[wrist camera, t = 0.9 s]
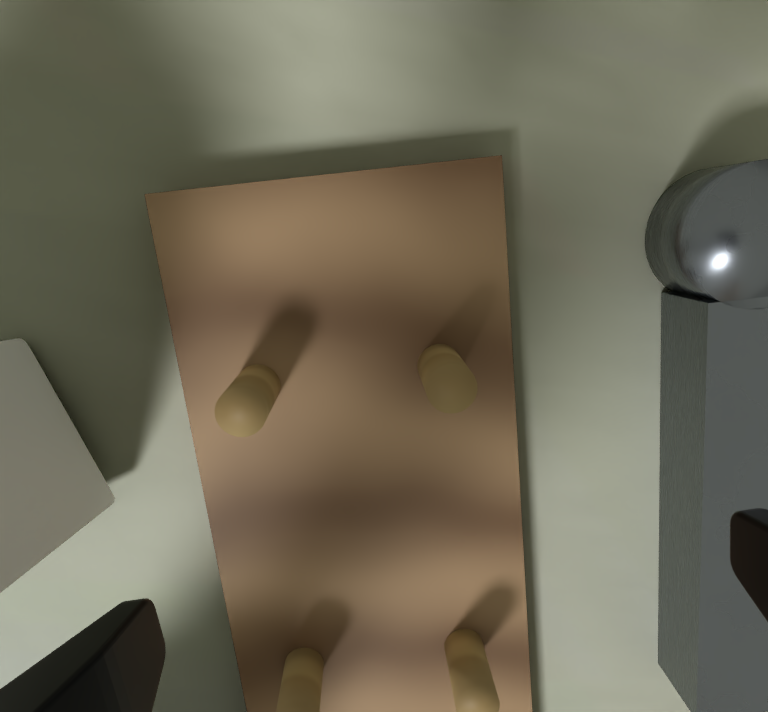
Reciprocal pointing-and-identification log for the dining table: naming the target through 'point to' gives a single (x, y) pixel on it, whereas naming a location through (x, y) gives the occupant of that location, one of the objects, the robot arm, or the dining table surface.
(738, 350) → the grey ball-topped bar
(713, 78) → the dining table surface
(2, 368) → the milk carton
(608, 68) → the dining table surface
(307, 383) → the tool rest
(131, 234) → the dining table surface
